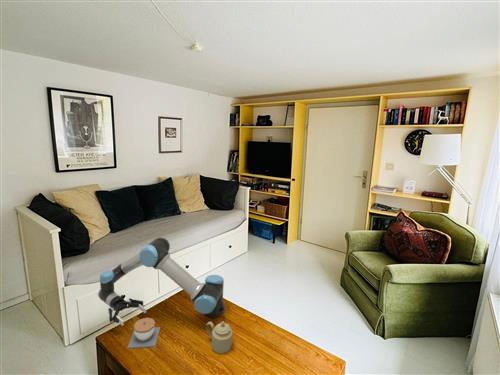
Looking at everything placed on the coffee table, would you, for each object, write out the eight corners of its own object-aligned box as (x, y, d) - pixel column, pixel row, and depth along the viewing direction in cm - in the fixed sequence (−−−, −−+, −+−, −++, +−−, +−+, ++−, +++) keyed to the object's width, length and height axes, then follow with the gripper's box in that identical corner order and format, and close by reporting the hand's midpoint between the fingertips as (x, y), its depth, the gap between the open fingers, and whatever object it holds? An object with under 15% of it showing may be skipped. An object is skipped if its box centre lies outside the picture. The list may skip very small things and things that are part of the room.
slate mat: (160, 327, 152) (160, 326, 152) (155, 346, 139) (155, 345, 139) (134, 329, 150) (134, 328, 150) (127, 348, 137) (127, 347, 136)
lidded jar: (134, 332, 147) (133, 317, 145) (154, 327, 151) (154, 313, 150) (134, 346, 137) (133, 330, 136) (155, 341, 142) (155, 325, 140)
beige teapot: (202, 352, 137) (203, 327, 134) (206, 336, 148) (207, 313, 145) (230, 354, 137) (232, 329, 134) (232, 338, 148) (233, 314, 145)
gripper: (134, 297, 171) (154, 311, 159) (94, 317, 151) (112, 335, 139) (134, 287, 170) (154, 300, 158) (93, 306, 150) (112, 322, 138)
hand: (134, 317), depth 148 cm, fingers open, 13 cm apart
